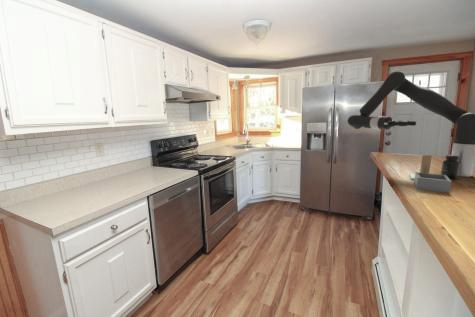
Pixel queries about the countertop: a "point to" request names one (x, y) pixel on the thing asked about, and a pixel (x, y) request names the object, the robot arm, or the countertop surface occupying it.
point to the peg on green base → (423, 166)
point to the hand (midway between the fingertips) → (411, 123)
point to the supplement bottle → (450, 167)
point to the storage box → (432, 182)
